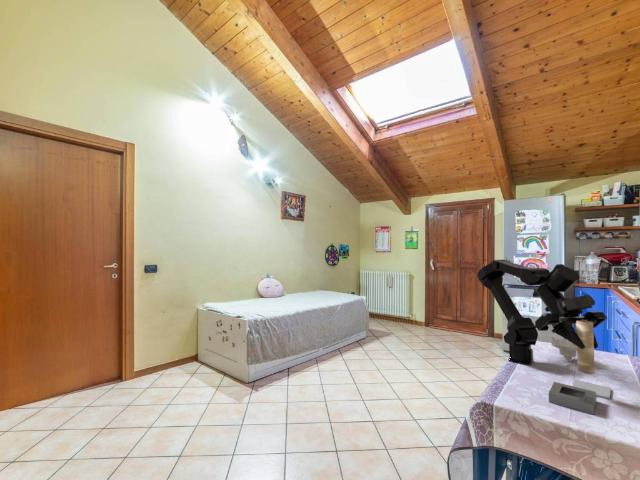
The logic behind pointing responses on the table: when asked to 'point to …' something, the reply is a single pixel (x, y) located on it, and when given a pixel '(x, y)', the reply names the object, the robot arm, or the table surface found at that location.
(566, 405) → the eye block
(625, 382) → the table surface
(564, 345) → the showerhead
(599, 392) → the mat
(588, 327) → the peg
